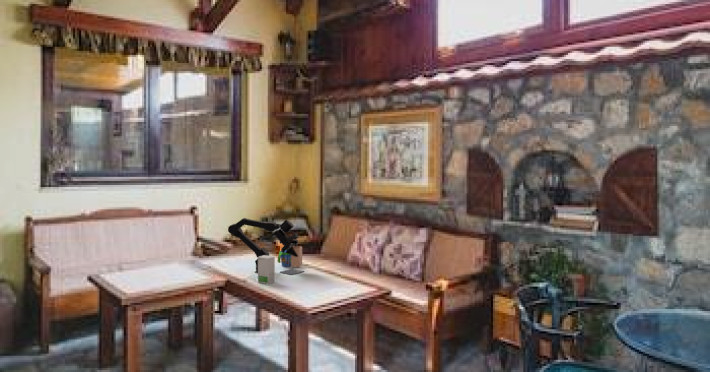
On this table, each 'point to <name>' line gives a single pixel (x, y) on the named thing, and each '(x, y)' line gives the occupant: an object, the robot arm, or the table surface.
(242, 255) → the table surface
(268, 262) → the skincare box
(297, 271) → the slate coaster
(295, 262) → the tan rectangular block
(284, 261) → the snack cup
